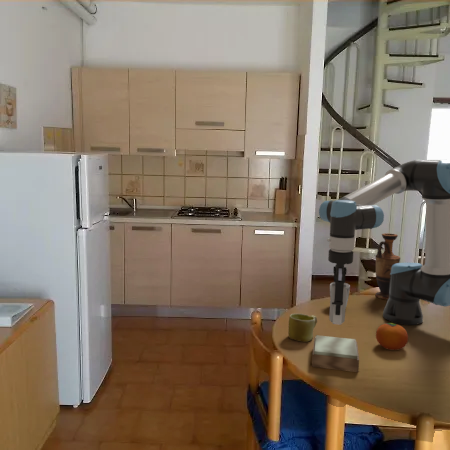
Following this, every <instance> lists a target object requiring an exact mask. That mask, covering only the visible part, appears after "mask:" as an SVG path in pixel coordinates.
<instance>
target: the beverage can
mask: <svg viewBox="0 0 450 450" xmlns="http://www.w3.org/2000/svg"><path fill="white" fill-rule="evenodd" d="M346 290H347V288H346V285H344V289H343V307H342V323H341V325H343V323H344V322H345V321H346V319H345V318H346V308H347V306H346ZM329 297H330V296H329ZM329 299H330V301H329V317H328V320H329V321H330V323H332V324H333V307H334V304H332V302H334V299H335V284H332V286H331V297H330V298H329ZM345 307H346V308H345Z"/></svg>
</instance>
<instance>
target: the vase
mask: <svg viewBox="0 0 450 450" xmlns="http://www.w3.org/2000/svg"><path fill="white" fill-rule="evenodd" d="M381 236H382V237H381V238H382V239H383V240H384V241H380V242H379V243H378V248H377V253H376V254H375V279H376V283H377V286H378V288H379V289H378V290H379V291H377V292H376V293H375V298H378V299H382V300H388V299H389V290H390V273H391V267H392V265H394V264H396V263H401V257H400V256H399V255H396V254H394V253H393V244H394V241H395V240H396V239H397V238H398V237H399V235H398V234H395V233H387V232H386V233H381ZM383 246H384V249H383V252H382V247H383Z"/></svg>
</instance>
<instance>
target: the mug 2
mask: <svg viewBox="0 0 450 450" xmlns="http://www.w3.org/2000/svg"><path fill="white" fill-rule="evenodd" d="M332 284H335V282H334V281H333V282H331V283H330V284H329V295H330V296H329V297H331V286H332ZM344 285H346V288H347V290H346V307H345V309H346V308H347V306H348V301H349V297H350V291H351V290H350V289H351V285H350V284H349V283H346V282H345V283H344Z"/></svg>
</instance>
